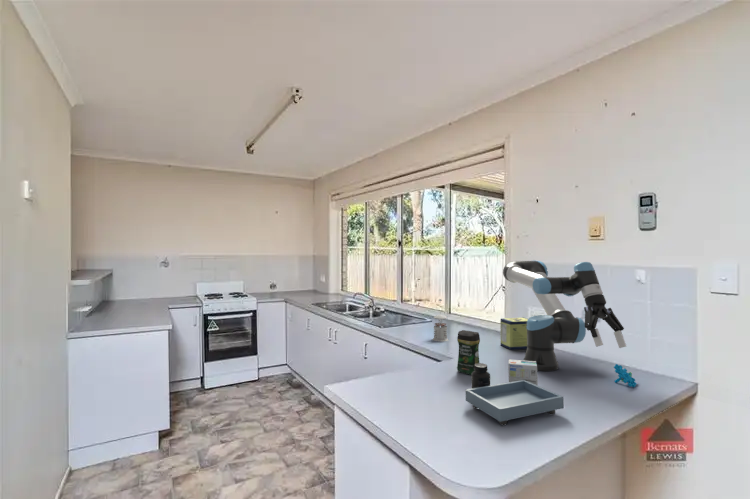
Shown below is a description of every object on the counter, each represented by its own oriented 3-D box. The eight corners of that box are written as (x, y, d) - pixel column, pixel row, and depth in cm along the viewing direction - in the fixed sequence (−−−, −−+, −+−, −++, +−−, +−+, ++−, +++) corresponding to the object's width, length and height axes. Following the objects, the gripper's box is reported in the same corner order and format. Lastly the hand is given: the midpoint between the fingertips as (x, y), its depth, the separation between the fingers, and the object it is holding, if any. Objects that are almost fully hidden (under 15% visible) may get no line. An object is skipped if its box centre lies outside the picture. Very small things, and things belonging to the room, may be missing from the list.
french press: (432, 341, 233) (431, 299, 233) (432, 336, 244) (432, 297, 244) (448, 341, 231) (448, 300, 231) (448, 337, 243) (448, 297, 243)
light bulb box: (536, 387, 154) (536, 360, 154) (538, 394, 148) (537, 365, 148) (508, 385, 157) (508, 358, 157) (508, 390, 151) (508, 363, 151)
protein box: (535, 348, 215) (535, 320, 215) (510, 350, 212) (509, 321, 212) (524, 343, 225) (524, 317, 225) (499, 345, 222) (499, 318, 222)
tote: (465, 407, 135) (465, 389, 135) (524, 396, 145) (523, 379, 145) (500, 429, 119) (500, 409, 119) (563, 415, 128) (563, 396, 128)
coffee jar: (454, 372, 174) (454, 331, 174) (462, 368, 180) (462, 328, 180) (474, 376, 168) (474, 333, 168) (482, 372, 174) (482, 330, 174)
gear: (631, 386, 150) (612, 363, 157) (618, 394, 153) (600, 371, 160) (643, 384, 156) (624, 362, 163) (630, 392, 160) (613, 370, 166)
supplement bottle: (469, 393, 148) (468, 362, 148) (486, 393, 149) (486, 361, 149) (475, 400, 141) (474, 367, 141) (493, 400, 142) (493, 367, 142)
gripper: (580, 290, 157) (597, 342, 147) (621, 296, 166) (640, 345, 156) (565, 297, 163) (581, 347, 153) (606, 302, 172) (623, 350, 162)
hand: (611, 346), depth 154 cm, fingers open, 13 cm apart
